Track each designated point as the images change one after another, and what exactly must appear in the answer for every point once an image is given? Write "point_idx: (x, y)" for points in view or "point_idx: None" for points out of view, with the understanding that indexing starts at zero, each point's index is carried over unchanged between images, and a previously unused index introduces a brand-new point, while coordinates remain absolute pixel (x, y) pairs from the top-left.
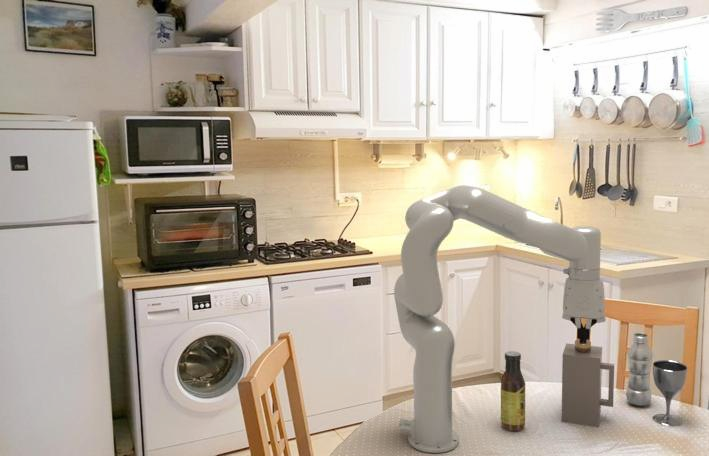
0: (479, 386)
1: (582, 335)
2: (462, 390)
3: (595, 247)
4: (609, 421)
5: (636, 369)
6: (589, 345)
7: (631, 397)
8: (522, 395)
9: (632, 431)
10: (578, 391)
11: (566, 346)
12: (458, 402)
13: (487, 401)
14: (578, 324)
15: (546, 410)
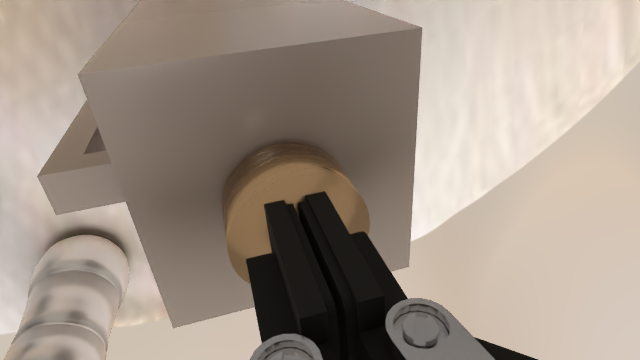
0: (557, 132)
1: (321, 248)
2: (605, 79)
3: None
4: None
5: (49, 344)
6: (230, 212)
7: (95, 247)
8: None
9: (5, 20)
10: (242, 4)
11: (404, 215)
12: None
13: (538, 33)
14: (431, 351)
15: None
